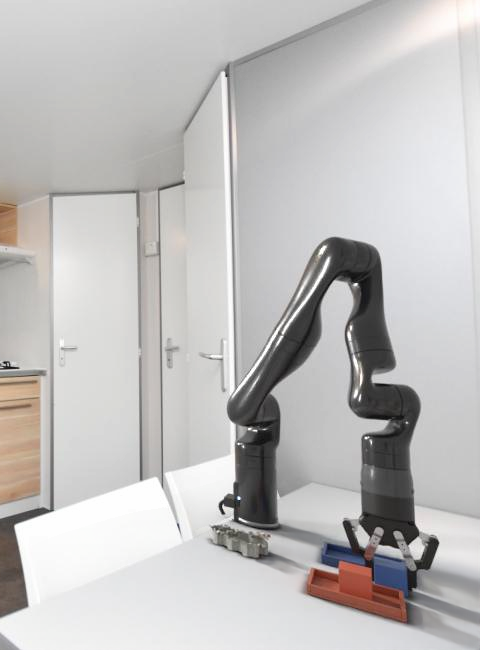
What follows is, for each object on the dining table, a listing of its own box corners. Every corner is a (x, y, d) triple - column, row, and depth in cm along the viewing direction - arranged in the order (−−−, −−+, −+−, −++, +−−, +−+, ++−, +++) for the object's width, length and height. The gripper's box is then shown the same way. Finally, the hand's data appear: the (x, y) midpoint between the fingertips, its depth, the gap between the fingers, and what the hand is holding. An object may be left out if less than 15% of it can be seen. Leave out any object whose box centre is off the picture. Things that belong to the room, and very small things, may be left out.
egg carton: (274, 554, 101) (273, 535, 102) (250, 560, 98) (250, 540, 99) (228, 536, 111) (228, 518, 111) (206, 540, 108) (205, 521, 108)
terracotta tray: (306, 593, 85) (306, 583, 85) (311, 576, 92) (311, 566, 92) (406, 623, 76) (406, 612, 77) (403, 601, 83) (403, 590, 84)
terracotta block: (339, 595, 84) (338, 568, 84) (340, 585, 87) (339, 560, 88) (372, 604, 81) (371, 577, 81) (372, 594, 84) (371, 568, 85)
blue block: (375, 588, 87) (374, 563, 88) (374, 580, 91) (373, 556, 91) (408, 597, 85) (406, 571, 85) (406, 588, 88) (405, 563, 88)
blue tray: (321, 563, 98) (321, 554, 98) (324, 549, 105) (324, 541, 105) (408, 585, 89) (408, 575, 90) (405, 568, 96) (405, 560, 97)
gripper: (437, 494, 87) (442, 590, 86) (339, 478, 97) (342, 565, 95) (442, 503, 82) (447, 607, 80) (337, 485, 91) (340, 578, 90)
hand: (390, 584), depth 88 cm, fingers closed on blue block, 4 cm apart
